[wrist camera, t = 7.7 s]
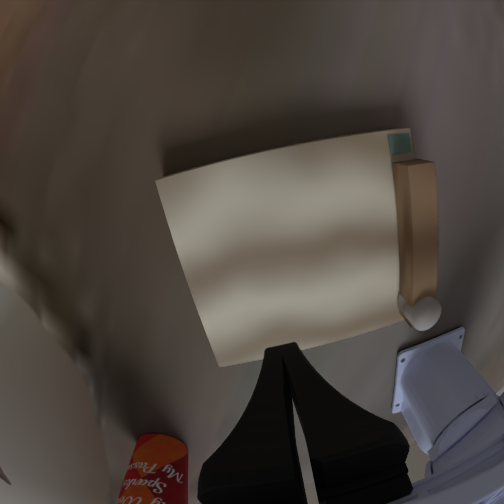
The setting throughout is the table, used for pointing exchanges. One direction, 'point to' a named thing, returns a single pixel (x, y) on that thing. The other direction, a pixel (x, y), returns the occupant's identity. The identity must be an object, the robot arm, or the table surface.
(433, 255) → the folding leg
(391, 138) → the cream flat block
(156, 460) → the coffee cup
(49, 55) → the table surface
